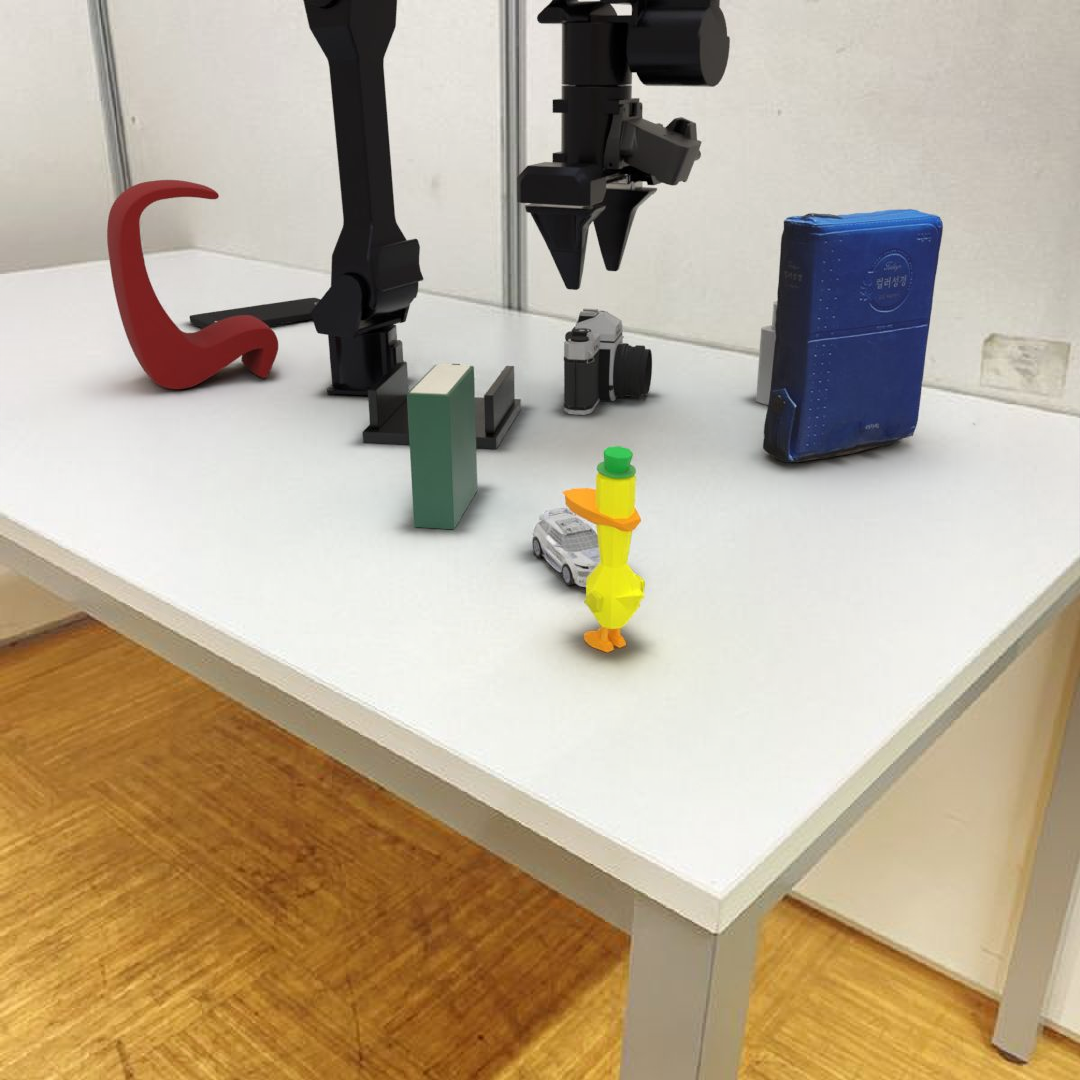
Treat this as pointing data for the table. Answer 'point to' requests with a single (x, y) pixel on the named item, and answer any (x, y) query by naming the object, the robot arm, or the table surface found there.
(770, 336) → the power adapter
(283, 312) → the cell phone
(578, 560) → the toy car
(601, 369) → the camera
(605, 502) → the toy figure
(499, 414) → the book rack
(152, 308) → the chair
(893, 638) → the table surface
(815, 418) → the book
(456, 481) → the small book
